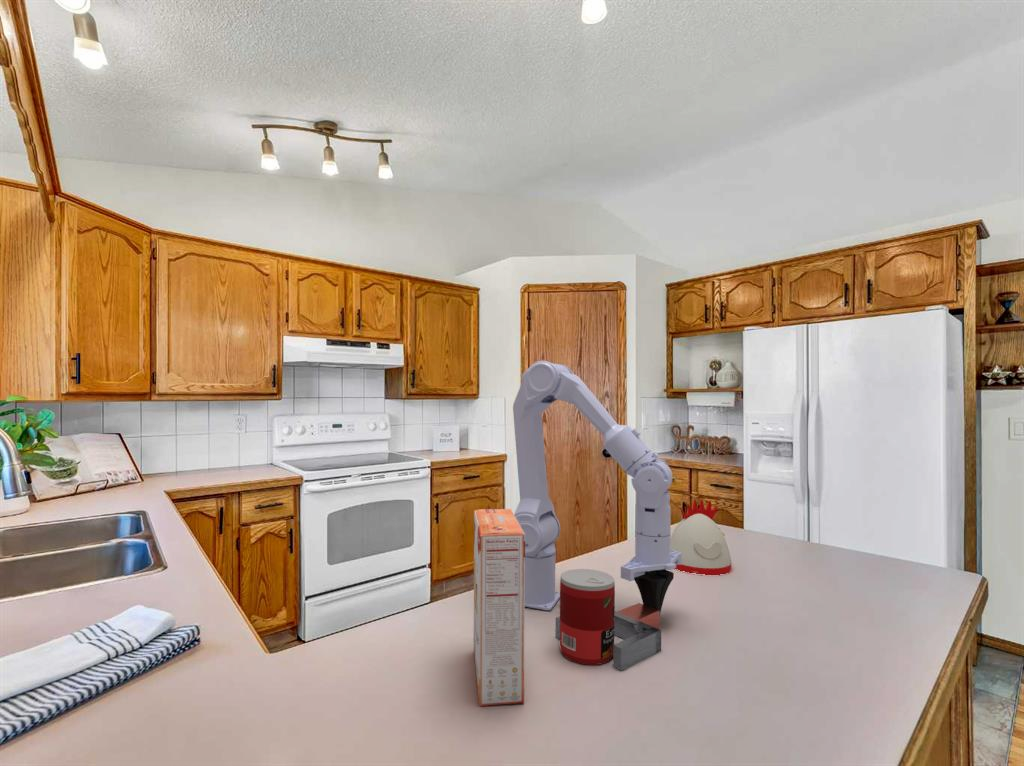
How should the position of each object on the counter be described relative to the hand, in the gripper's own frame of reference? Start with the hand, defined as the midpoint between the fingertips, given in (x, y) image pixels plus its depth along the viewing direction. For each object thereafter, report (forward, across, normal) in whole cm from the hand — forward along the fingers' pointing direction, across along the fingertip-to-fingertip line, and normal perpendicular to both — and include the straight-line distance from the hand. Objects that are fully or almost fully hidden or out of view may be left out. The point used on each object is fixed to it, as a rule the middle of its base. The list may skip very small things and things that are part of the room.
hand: (652, 614), depth 86 cm
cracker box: (+2, -31, +3) cm, 31 cm away
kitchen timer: (+2, +35, +12) cm, 37 cm away
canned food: (+2, -16, 0) cm, 16 cm away
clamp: (+1, -9, 0) cm, 9 cm away
